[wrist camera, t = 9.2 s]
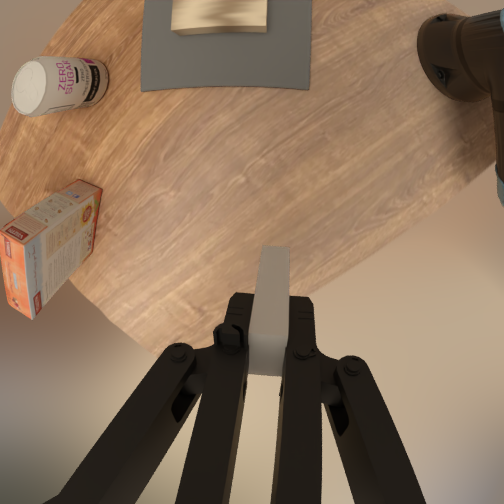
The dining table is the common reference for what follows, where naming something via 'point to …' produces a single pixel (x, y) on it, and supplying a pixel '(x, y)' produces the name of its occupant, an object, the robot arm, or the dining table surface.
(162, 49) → the mat
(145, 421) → the robot arm
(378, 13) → the dining table surface
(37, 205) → the cracker box
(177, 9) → the wooden block
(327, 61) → the dining table surface
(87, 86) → the supplement can
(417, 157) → the dining table surface
